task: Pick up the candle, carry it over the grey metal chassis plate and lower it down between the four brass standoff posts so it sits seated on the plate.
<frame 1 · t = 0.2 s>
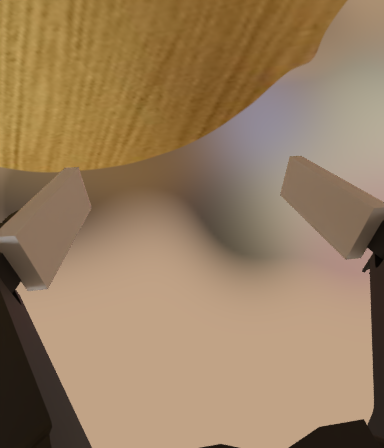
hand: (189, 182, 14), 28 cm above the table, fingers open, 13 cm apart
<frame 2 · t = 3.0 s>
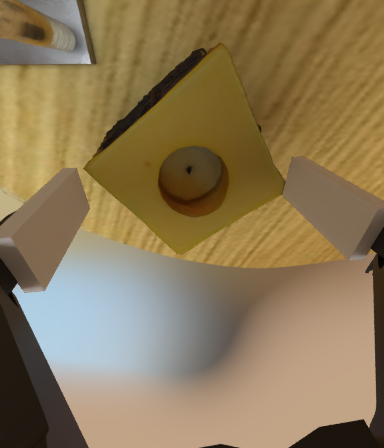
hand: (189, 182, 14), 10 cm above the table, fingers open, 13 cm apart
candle: (183, 137, 22), on the table, touching gripper
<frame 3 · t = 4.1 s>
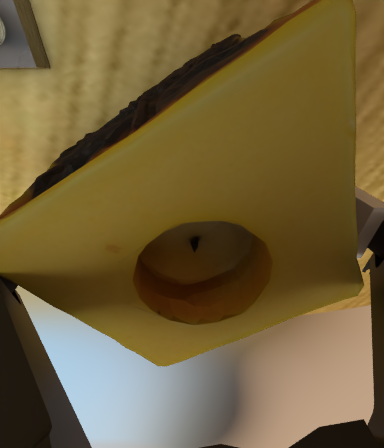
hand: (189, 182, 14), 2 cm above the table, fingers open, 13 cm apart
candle: (183, 166, 15), on the table, touching gripper
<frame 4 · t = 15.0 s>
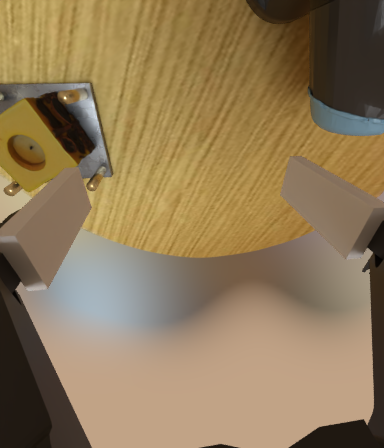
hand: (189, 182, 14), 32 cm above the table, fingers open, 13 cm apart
chassis: (59, 135, 39), on the table
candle: (55, 134, 38), point 1 cm above the table, touching chassis
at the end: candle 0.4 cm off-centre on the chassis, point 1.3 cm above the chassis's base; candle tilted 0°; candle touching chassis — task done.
